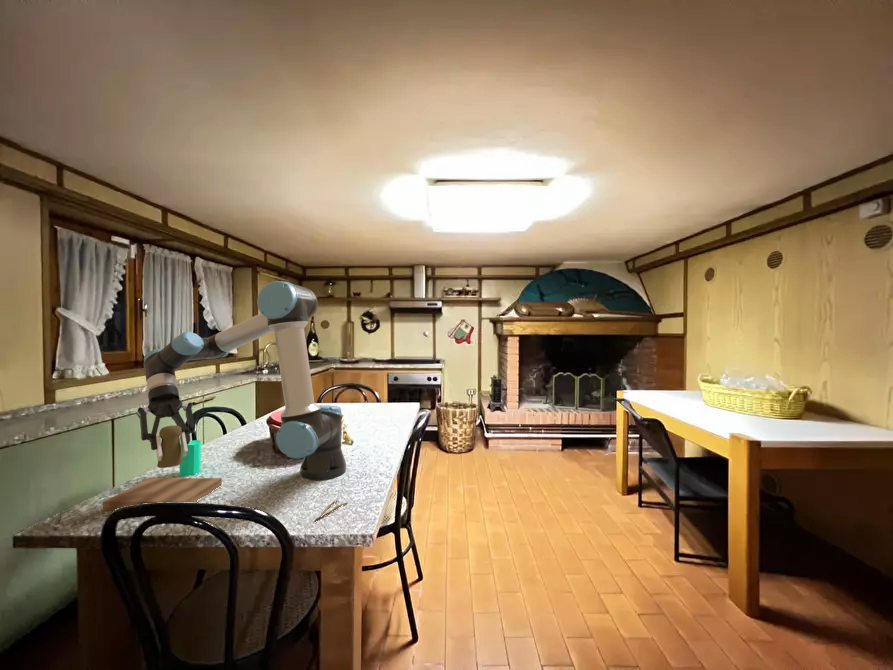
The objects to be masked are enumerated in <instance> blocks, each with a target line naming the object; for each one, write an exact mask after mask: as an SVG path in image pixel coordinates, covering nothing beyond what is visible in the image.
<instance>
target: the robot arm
mask: <svg viewBox="0 0 893 670" xmlns="http://www.w3.org/2000/svg"><path fill="white" fill-rule="evenodd" d="M318 303H319V302H318V298H317V296H316V294H315V293H314V292H313V291H312V290H311V289H310V288H308V287H306V286H303V285H298V284H293V283H291V282H289V281H285V280H283V281H282V280H273V281H271V282H268V283H266V284H265V285H264V286H263V287H262V289H261V290H260V291H259V293H258V295H257V300H256V304H257V308H258V310H259V314H256V315H254V316H252V317H250V318H248V319H246V320H243V321H241V322H239V323H238V324H237V323H236V324H235V325H232V326H230V327H228V328H225V329H224V330H222V331H220V332H217V333H215V334H213V335H210V336H209V337H201V336H199V334H197V333H195V332H194V333H193V332H192V331H187V330H186V331H184V332H182V333H180V334H179V335H177V336H176V337H174V338H173V340H171V341H170V342H169V343H168V344H167V345H165V346H164V347H163V348H155V349H153V350H149V351H147V352H146V353H145V354H144V356H143V368H144V375H145V381H146V390H147V398H148V405H147V406H146V407H141V406H140V407H137V411H136V416H137V417H138V418H139V423H140V424H139V425H140V439H141V440H142V441H149V442H150V449H151V451H156V459H157V460H156V461H157V462H158V461H161V459H162V449H161V441H162V440H161V438H160V435H157V434H158V430H159V426H160V421H161V419H163V418H171V419H172V420H173V421H174V423H175V424H176V425H175V426H180V427H181V429H182V433H181V435H180V436H179V438H180V443H181V447H182V452H183V456H186V455H187V452H188V448H187V444H189V442H190V438H191V436H190V434H194V432H195V430H196V424H195V423H196V422H195V419H194V418H195V417H194V414H193V409H192V407H193V402H192V401H191V402H188V403H185V402H183V401H182V400H181V398H180V394H179V387H178V382H177V377H176V371H177V370H178V369H179V368H181V367H182V366H183V365H185V364H186V362H188V361H195V360H196V361H197V360H213V359H214V360H217V359H220V358H221V359H222V358H225V357H227V356H228V355H229V353H230V352H231V351H234V350H235V349H238V348H241V347H242V346H245V345H247V344H249V343H251V342H254V341H256V340H258V339H260V338H262V337H264V336H266V335H269V334H270V333H274V337H275V345H276V353H277V357H278V367H279V373H280V380H281V388H282V394H283V401H284V410H283V412H282V413H281V414H280V419H281V425H280V427H279V429H278V430H277V431H276V437H275V440H276V445H277V447H278V449H279V451H280V452H281V453H282V454H284V455H285V456H286V457H288V458H290V459H302V462H301V464H300V469H299V472H300V474H299V475H300V477H302V478H303V479H306V480H313V481H319V480H320V481H322V480H328V479H329V480H330V479H333V478H336V477H339V476H342V475H343V474H344V473H345V472H346V470H347V462H346V459H345V456H344V453H343V450H342V421H343V419H342V417H343V415H342V408H341V407H340V406H338V405H325V404H324V405H323V404H322V405H317V404H316V402H315V398H314V390H313V384H312V383H313V382H312V375H311V367H310V362H309V361H310V360H309V354H308V347H307V340H306V332H305V328H306V327H307V325H308V324H309V320H310V319H311V318H313V316H314V315H315V314H316V312H317V310H318V307H319V305H318ZM181 408H182V409H183V411H184V412H185V418H186V419H185V420H186V423H187V424H186V423H185V421H184V419H183V417H182V416H181V414H180V410H181ZM148 412H149V413H151V414H152V415H153V416H155V417H154V423H153V426H152V430H151V433H149V429H148V418H147V415H148Z"/></svg>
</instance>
